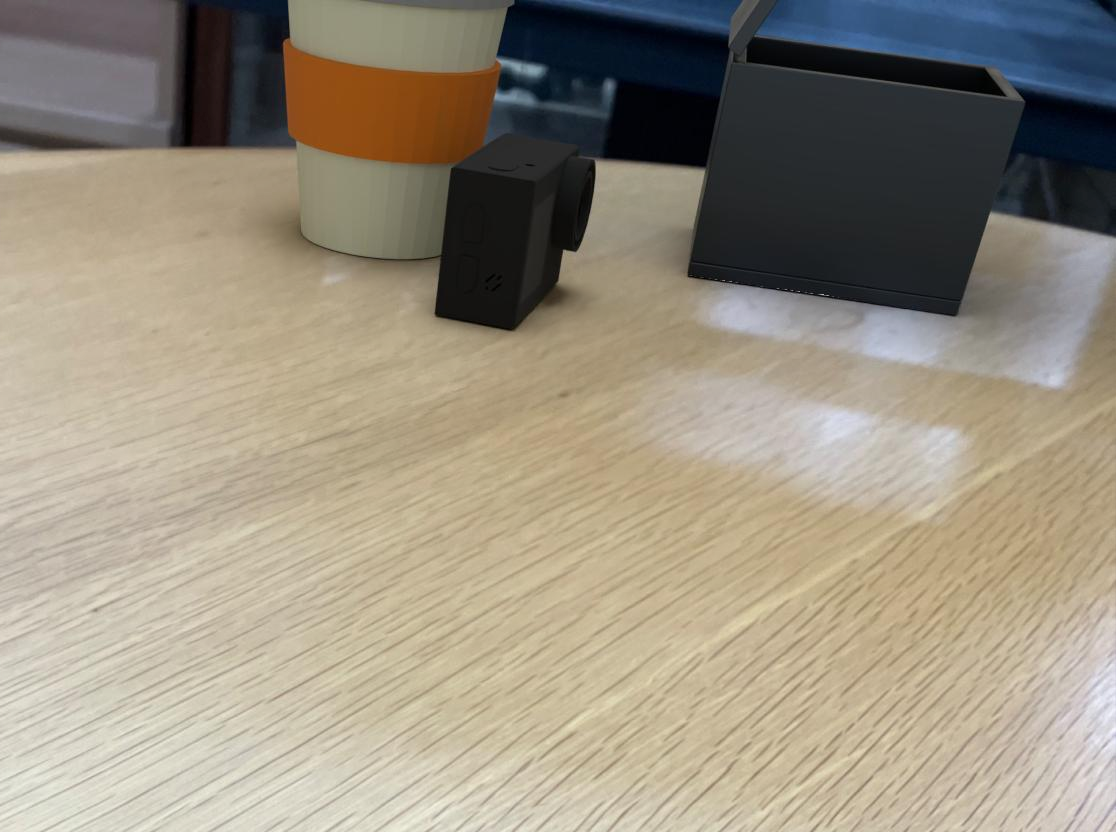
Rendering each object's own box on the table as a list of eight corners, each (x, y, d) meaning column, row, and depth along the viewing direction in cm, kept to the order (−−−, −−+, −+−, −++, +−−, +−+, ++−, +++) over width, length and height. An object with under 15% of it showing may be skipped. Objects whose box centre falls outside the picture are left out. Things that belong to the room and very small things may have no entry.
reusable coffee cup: (423, 208, 96) (452, -82, 86) (522, 264, 87) (566, -50, 78) (237, 211, 91) (247, -95, 81) (323, 271, 83) (345, -63, 73)
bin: (937, 262, 97) (996, 66, 90) (957, 316, 87) (1025, 101, 80) (693, 227, 98) (733, 32, 91) (686, 276, 89) (731, 62, 82)
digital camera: (535, 336, 77) (559, 183, 73) (433, 316, 78) (450, 164, 74) (578, 287, 85) (602, 146, 80) (485, 270, 86) (504, 130, 81)
